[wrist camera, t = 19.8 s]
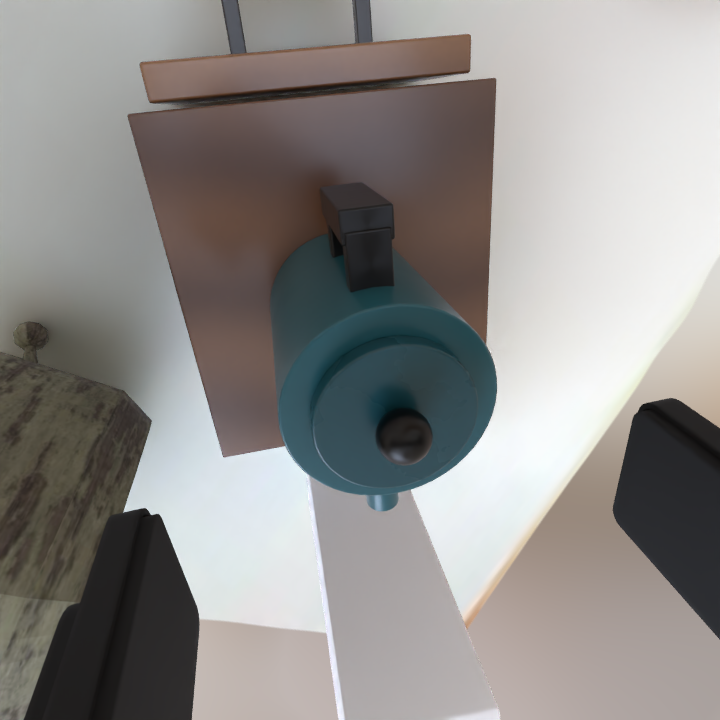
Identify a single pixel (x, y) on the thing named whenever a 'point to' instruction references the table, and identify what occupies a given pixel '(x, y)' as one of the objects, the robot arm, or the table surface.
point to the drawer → (303, 65)
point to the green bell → (53, 499)
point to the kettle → (372, 359)
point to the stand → (309, 214)
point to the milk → (392, 615)
